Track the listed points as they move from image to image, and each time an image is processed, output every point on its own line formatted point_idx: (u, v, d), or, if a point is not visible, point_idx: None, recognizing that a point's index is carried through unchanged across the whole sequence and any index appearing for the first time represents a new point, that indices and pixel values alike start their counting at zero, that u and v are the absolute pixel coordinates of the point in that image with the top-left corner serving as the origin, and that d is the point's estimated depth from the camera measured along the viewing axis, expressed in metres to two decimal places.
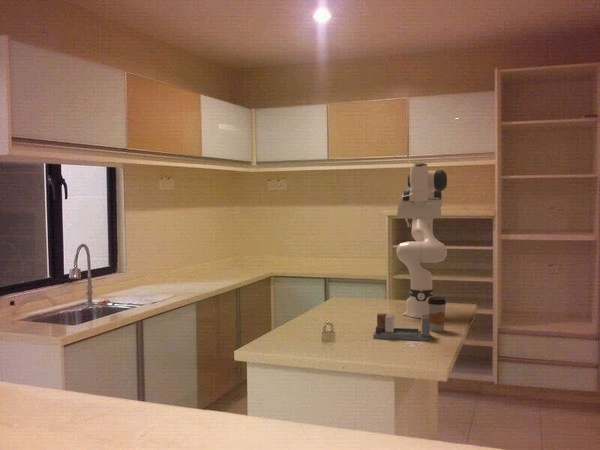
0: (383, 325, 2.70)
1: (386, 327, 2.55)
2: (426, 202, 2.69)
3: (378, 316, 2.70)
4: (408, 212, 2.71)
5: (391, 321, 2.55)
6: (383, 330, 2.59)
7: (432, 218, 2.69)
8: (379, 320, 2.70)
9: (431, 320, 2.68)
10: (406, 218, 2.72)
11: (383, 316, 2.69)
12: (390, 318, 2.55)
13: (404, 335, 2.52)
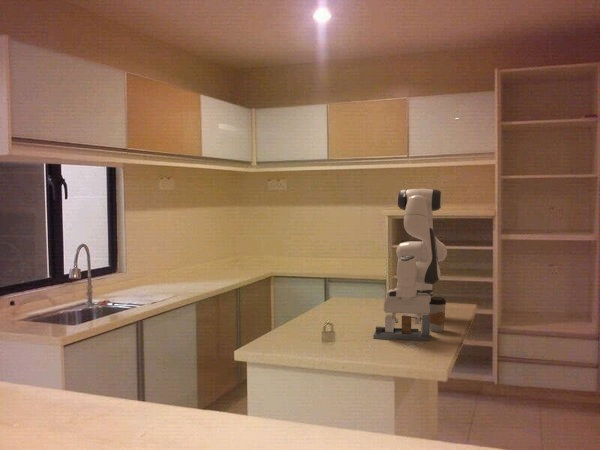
0: (408, 328, 2.55)
1: (386, 327, 2.55)
2: (414, 298, 2.55)
3: (403, 319, 2.56)
4: (395, 308, 2.57)
5: (391, 321, 2.55)
6: (383, 330, 2.59)
7: (419, 315, 2.55)
8: (403, 323, 2.56)
9: (431, 320, 2.68)
10: (393, 314, 2.58)
11: (408, 319, 2.55)
12: (390, 318, 2.55)
13: (404, 335, 2.52)
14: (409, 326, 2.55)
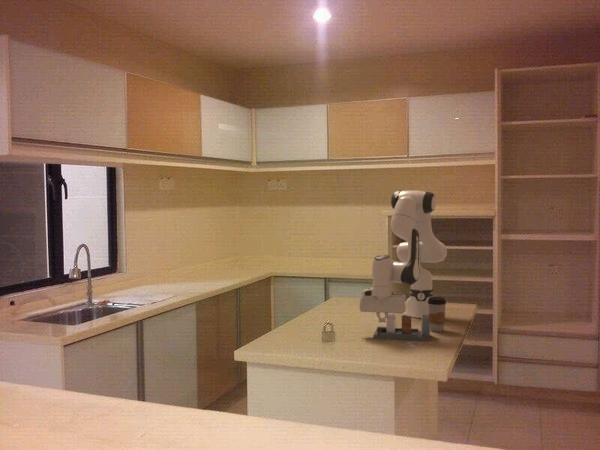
0: (408, 328, 2.55)
1: (387, 327, 2.55)
2: (389, 297, 2.57)
3: (403, 319, 2.56)
4: (371, 307, 2.59)
5: (392, 321, 2.55)
6: (384, 330, 2.59)
7: (386, 313, 2.58)
8: (403, 323, 2.56)
9: (431, 320, 2.68)
10: (377, 313, 2.59)
11: (408, 319, 2.55)
12: (391, 318, 2.55)
13: (404, 335, 2.52)
14: (409, 326, 2.55)
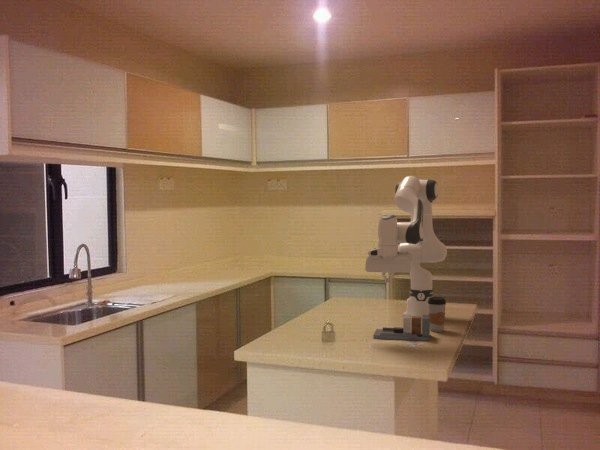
0: (418, 329, 2.54)
1: (404, 328, 2.54)
2: (395, 257, 2.56)
3: (413, 319, 2.55)
4: (377, 267, 2.58)
5: (409, 322, 2.53)
6: (401, 331, 2.57)
7: (392, 273, 2.57)
8: (413, 323, 2.55)
9: (431, 320, 2.68)
10: (383, 273, 2.58)
11: (418, 319, 2.54)
12: (408, 319, 2.53)
13: (404, 335, 2.52)
14: (419, 326, 2.54)
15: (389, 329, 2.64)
